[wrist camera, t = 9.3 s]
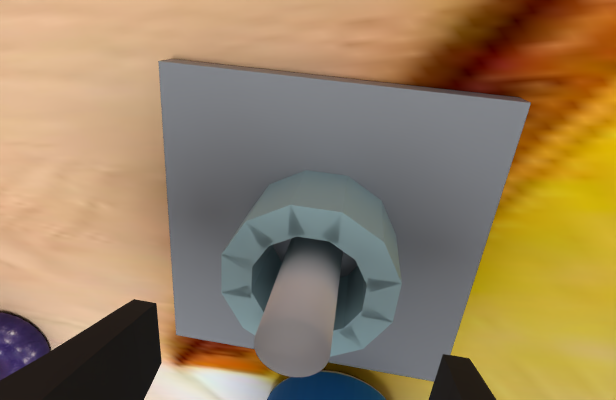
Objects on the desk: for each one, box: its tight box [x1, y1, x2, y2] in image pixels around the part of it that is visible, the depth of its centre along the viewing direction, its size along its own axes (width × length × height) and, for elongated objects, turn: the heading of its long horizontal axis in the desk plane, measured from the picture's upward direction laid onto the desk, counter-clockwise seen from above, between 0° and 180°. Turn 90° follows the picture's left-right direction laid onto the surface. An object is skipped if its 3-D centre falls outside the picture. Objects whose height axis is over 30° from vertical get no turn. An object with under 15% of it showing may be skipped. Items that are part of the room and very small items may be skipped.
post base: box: [159, 59, 531, 381], centre depth 13 cm, size 12×12×6 cm
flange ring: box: [221, 170, 402, 357], centre depth 14 cm, size 6×6×3 cm
